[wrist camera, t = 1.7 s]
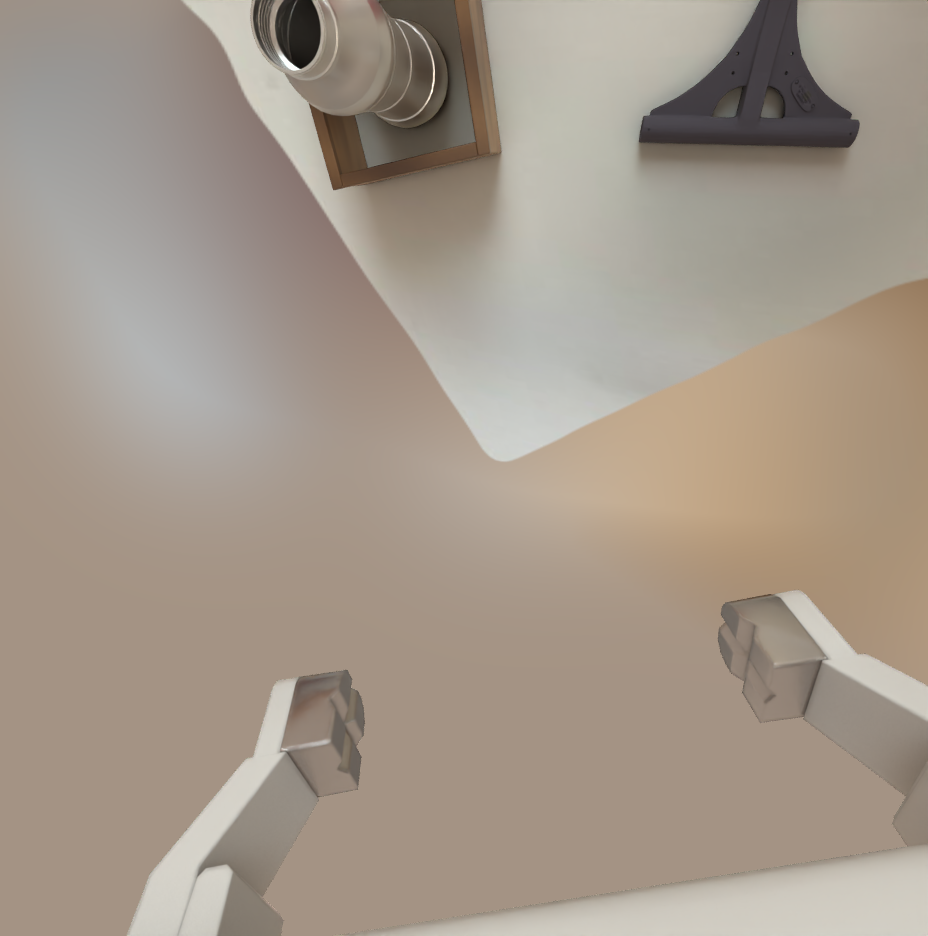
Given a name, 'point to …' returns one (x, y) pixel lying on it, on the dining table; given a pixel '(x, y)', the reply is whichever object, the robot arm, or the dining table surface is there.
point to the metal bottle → (353, 58)
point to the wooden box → (352, 170)
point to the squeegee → (756, 94)
